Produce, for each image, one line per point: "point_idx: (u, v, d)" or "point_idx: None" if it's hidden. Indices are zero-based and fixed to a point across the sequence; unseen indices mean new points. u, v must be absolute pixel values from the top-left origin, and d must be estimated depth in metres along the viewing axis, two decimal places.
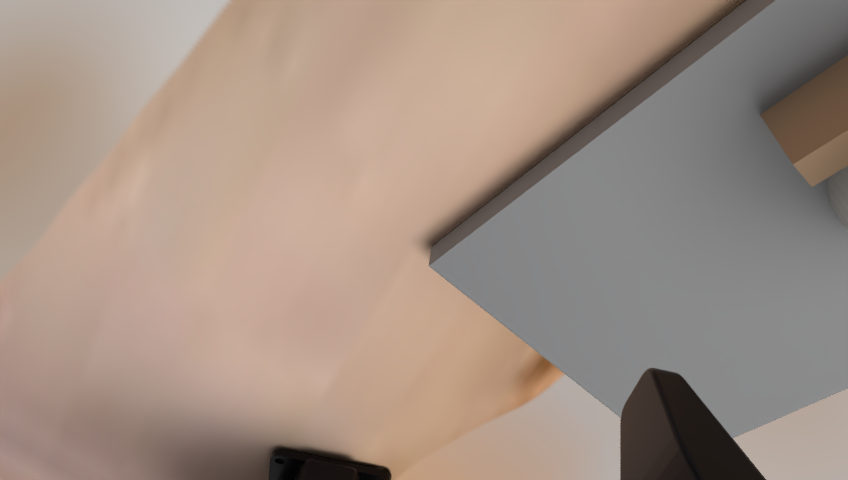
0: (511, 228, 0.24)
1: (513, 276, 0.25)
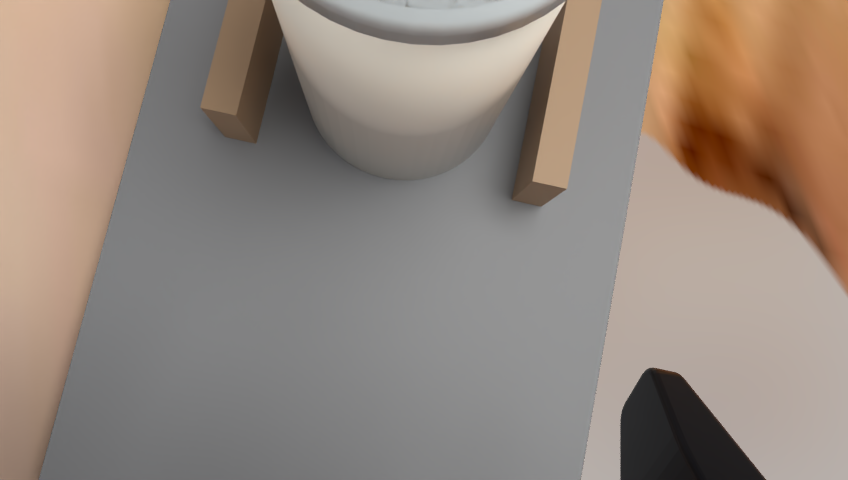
0: (91, 390, 0.20)
1: (135, 451, 0.20)
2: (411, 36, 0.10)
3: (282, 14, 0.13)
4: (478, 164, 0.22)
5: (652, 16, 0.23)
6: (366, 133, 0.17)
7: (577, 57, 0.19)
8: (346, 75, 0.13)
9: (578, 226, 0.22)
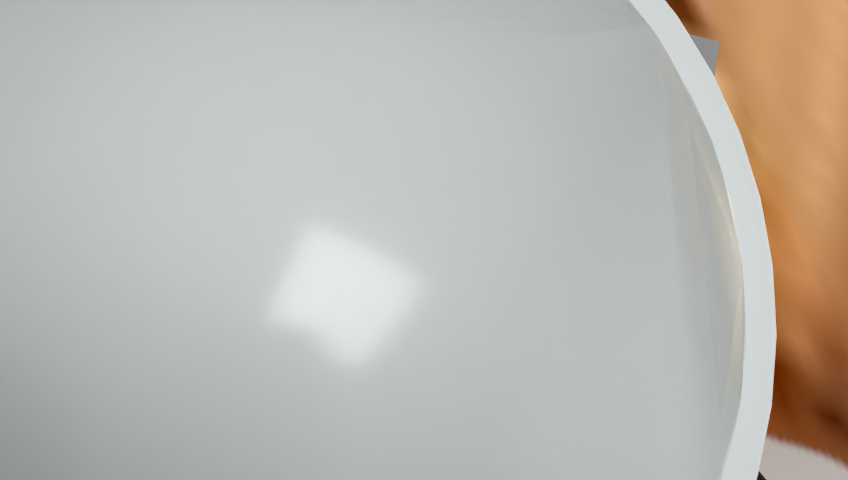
0: None
1: None
2: None
3: None
4: None
5: None
6: None
7: None
8: None
9: None
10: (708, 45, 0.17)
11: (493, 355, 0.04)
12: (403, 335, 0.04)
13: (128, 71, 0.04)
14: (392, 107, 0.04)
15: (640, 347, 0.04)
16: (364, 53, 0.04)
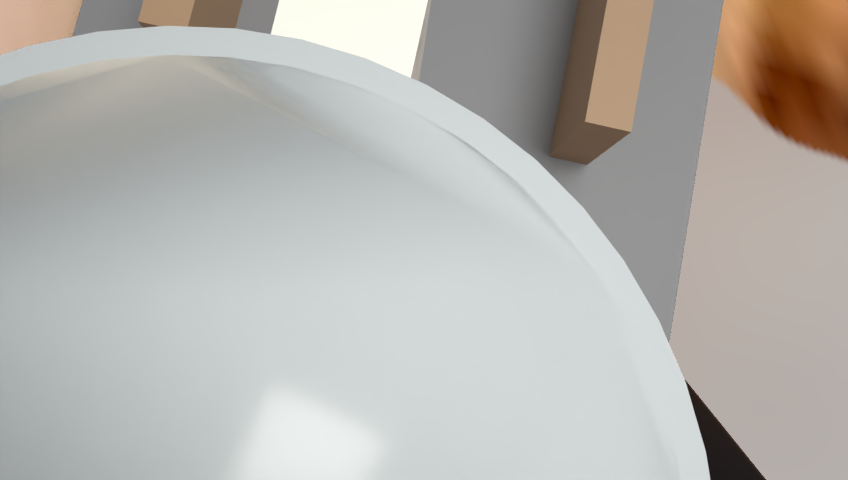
0: None
1: None
2: None
3: None
4: (506, 110, 0.17)
5: None
6: None
7: None
8: None
9: (634, 190, 0.17)
10: None
11: None
12: None
13: (63, 332, 0.04)
14: (332, 365, 0.04)
15: None
16: (302, 309, 0.04)
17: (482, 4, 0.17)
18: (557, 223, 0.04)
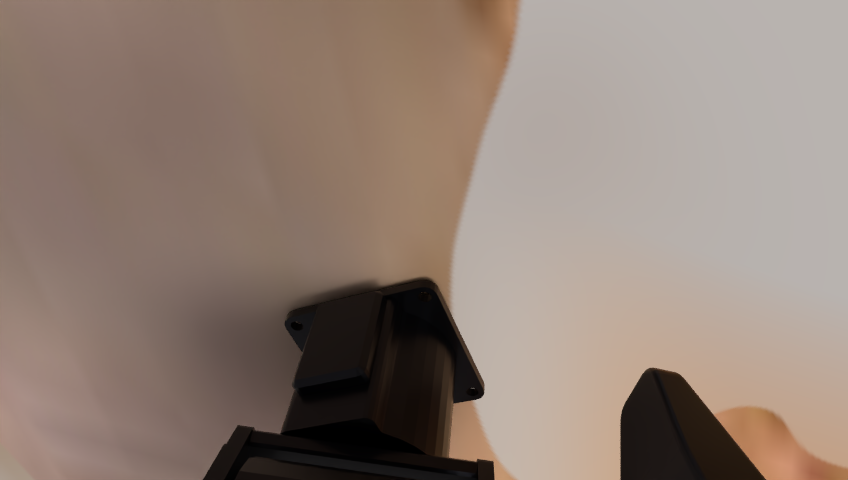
0: None
1: None
2: None
3: None
4: None
5: None
6: None
7: None
8: None
9: None
10: None
11: None
12: None
13: None
14: None
15: None
16: None
17: None
18: None
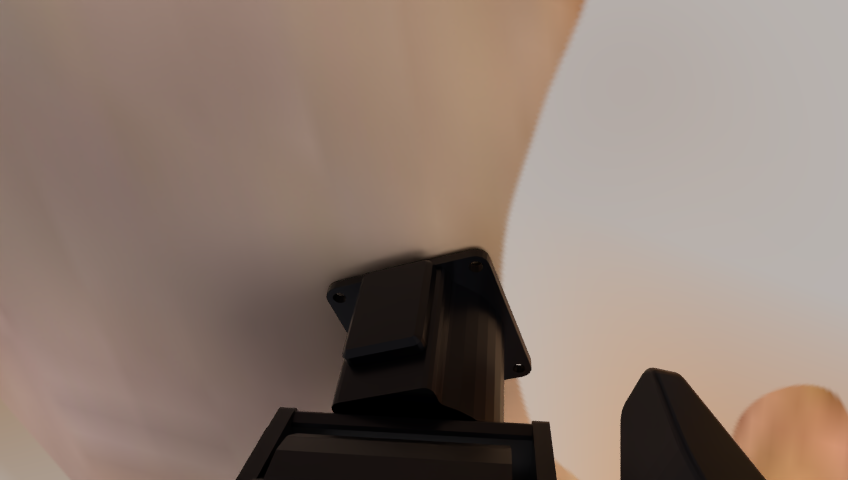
0: None
1: None
2: None
3: None
4: None
5: None
6: None
7: None
8: None
9: None
10: None
11: None
12: None
13: None
14: None
15: None
16: None
17: None
18: None
